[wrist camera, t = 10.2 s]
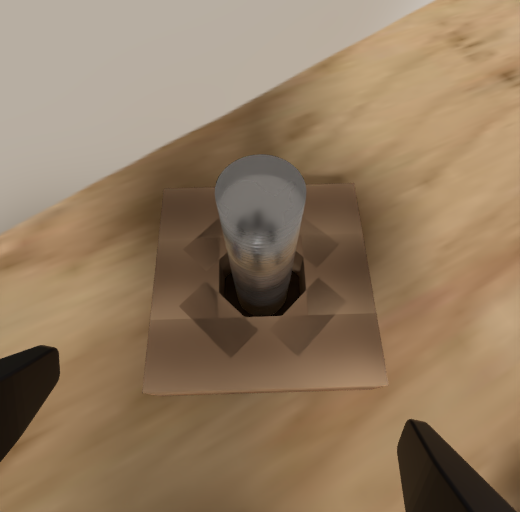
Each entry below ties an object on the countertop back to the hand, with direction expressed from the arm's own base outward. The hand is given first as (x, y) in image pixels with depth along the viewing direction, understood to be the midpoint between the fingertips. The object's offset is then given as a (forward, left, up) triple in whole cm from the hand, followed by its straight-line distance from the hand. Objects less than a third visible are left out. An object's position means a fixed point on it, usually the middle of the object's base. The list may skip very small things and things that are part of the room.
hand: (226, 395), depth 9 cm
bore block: (+7, -1, -12) cm, 13 cm away
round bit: (+7, -1, -12) cm, 13 cm away
